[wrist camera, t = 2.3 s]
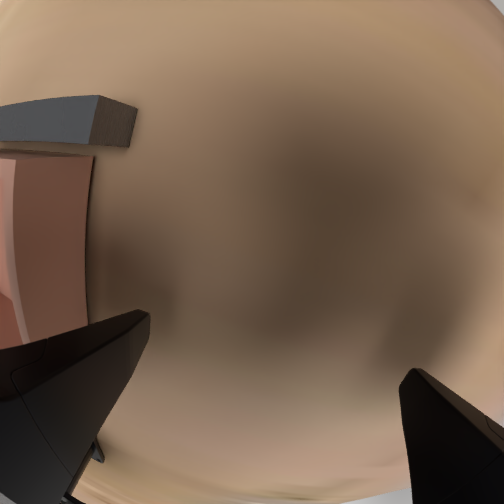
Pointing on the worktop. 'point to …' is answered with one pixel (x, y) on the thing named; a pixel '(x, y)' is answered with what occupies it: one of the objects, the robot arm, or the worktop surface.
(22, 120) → the crate bay
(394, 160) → the worktop surface
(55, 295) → the crate
